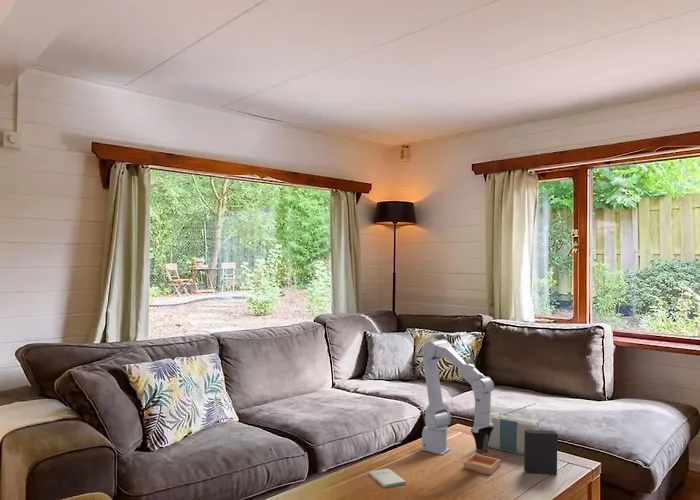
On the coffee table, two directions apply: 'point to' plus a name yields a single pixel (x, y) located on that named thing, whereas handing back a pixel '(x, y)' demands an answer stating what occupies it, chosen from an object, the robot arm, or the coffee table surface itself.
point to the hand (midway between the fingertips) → (482, 447)
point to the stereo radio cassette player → (510, 431)
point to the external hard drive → (387, 478)
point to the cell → (485, 447)
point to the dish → (482, 464)
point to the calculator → (540, 452)
